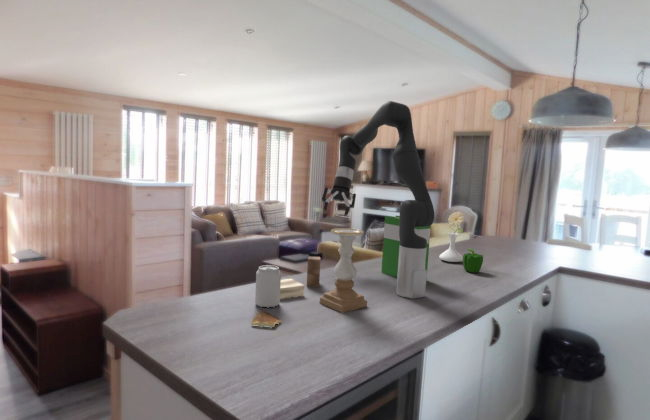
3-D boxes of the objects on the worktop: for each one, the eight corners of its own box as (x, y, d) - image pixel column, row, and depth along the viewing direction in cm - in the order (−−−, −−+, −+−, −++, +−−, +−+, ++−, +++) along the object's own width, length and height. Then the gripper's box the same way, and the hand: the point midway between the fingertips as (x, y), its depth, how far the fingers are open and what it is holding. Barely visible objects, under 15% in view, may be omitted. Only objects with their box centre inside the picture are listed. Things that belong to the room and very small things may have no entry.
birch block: (303, 296, 139) (304, 285, 139) (279, 300, 135) (280, 288, 134) (290, 289, 147) (291, 278, 146) (267, 292, 142) (267, 281, 142)
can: (256, 309, 124) (257, 270, 123) (253, 301, 131) (255, 264, 130) (281, 308, 126) (283, 269, 125) (277, 300, 133) (279, 263, 132)
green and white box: (381, 272, 176) (385, 216, 174) (393, 270, 181) (397, 215, 178) (414, 282, 163) (419, 221, 160) (426, 280, 167) (431, 221, 165)
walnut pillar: (319, 283, 155) (320, 256, 154) (319, 286, 151) (320, 259, 150) (306, 282, 155) (308, 256, 154) (306, 286, 151) (307, 259, 150)
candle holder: (318, 302, 133) (322, 228, 131) (344, 297, 140) (348, 226, 138) (342, 313, 125) (346, 234, 122) (367, 306, 132) (372, 231, 129)
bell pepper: (486, 273, 184) (488, 251, 183) (471, 274, 181) (473, 251, 180) (473, 269, 192) (474, 247, 191) (458, 269, 189) (460, 247, 188)
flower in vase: (434, 258, 210) (438, 209, 207) (454, 258, 213) (458, 209, 210) (449, 265, 197) (453, 212, 195) (470, 264, 201) (474, 212, 198)
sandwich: (260, 314, 122) (260, 308, 122) (286, 316, 121) (286, 310, 121) (249, 328, 111) (250, 321, 111) (278, 330, 110) (278, 324, 110)
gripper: (327, 172, 181) (318, 207, 176) (360, 179, 179) (351, 214, 175) (328, 178, 188) (319, 212, 184) (359, 185, 187) (351, 219, 182)
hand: (335, 213), depth 179 cm, fingers open, 8 cm apart
